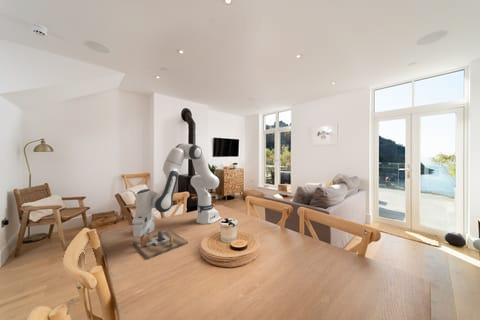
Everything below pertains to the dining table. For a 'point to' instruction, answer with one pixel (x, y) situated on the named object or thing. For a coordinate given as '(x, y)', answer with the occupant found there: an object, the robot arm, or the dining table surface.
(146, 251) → the walnut board
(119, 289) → the dining table surface
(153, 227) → the supplement box
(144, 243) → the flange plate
